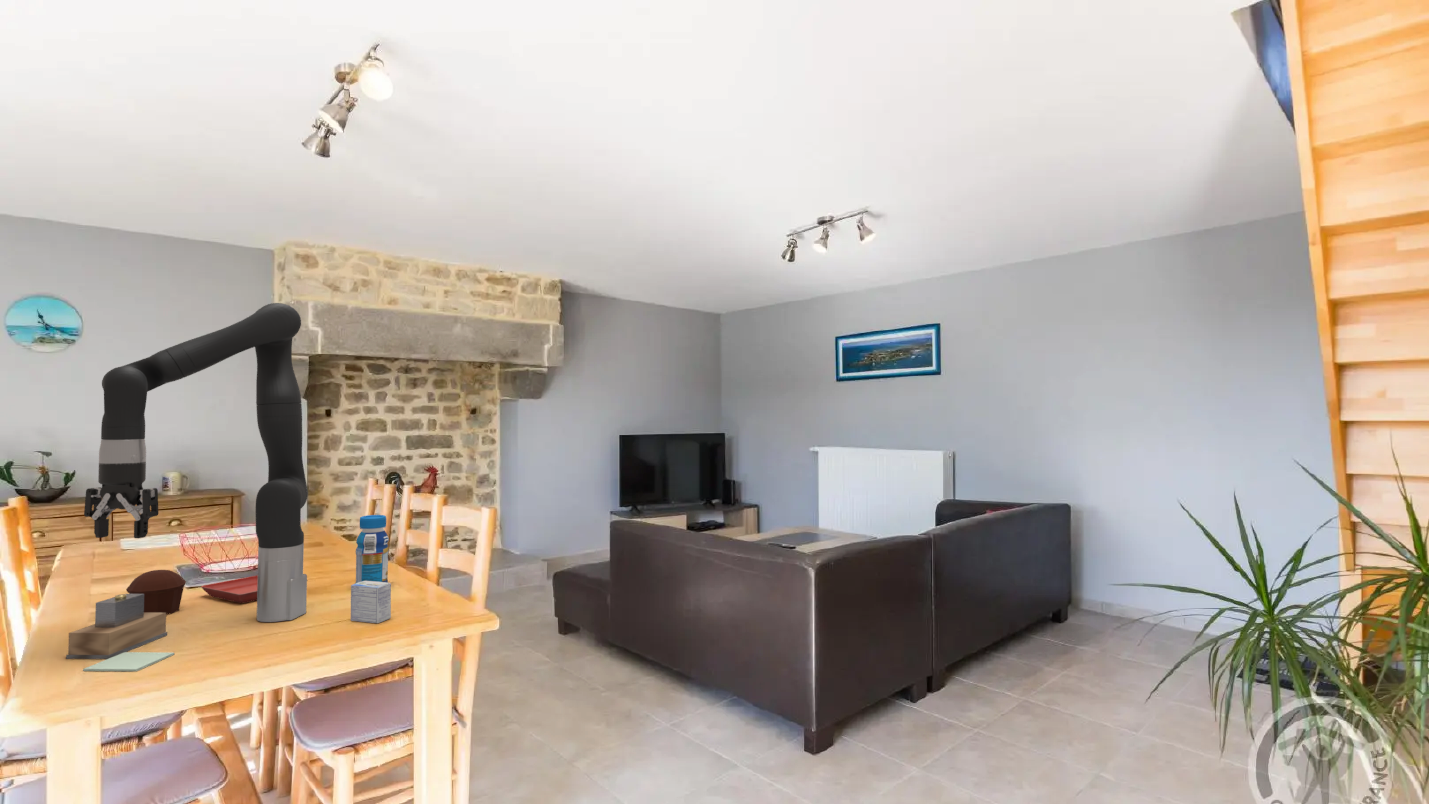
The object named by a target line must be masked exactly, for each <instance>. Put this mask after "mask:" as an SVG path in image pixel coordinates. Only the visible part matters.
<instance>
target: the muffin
mask: <svg viewBox="0 0 1429 804" xmlns="http://www.w3.org/2000/svg"><path fill="white" fill-rule="evenodd" d="M186 583H187V581H186V580H185V579H184V578H183V577H182V576H181V575H180V573H177V572H174V571H172V570H170V569H155V570H150V571H147V572H143V573H141V574H140V575H138V576H136V577H135V578H134V579H133V580H132V581H131V582H130V584H128V585H129V586H127V588H125V589H126V592H127V594H144V612H155V613H166V616H167V615H172V614H174V613H176V612H178V611H180V606H181V603H182V598H183V592H184V587H185V585H186Z"/></svg>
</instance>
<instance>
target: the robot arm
mask: <svg viewBox="0 0 1429 804" xmlns="http://www.w3.org/2000/svg"><path fill="white" fill-rule="evenodd" d="M301 327H302V319H301V315H300V314H299V312H298V311H297V309H295V308H294V307H292V306H290V305H289V304H286V303H281V302H272V303H268V304H265V305H263V306H262V307H260V308H258V309H257V310H256V311H255V312H254V313H253V314H251V315H249V316H248V317H247V316H246V318H243V319H242V320H240V321H238V322H234V323H233V324H231V325H228V326H225V327H224V328H222V329H219V330H215V331H212V332H210V333H206V334H204V335H201V336H198V337H195V338H191V339H188V340H186V341H183V342H180V343H177V344H175V345H173V346H170V347H167V348H164V349H162V350H160V351H157V352H155V353H153V354H151V356H148V357H145V358H142V359H140V360H136V361H133V362H130V363H128V364H125V365H122V366H118V367H115V368H111V369H110V370H109V371H107V372H106V373H105V375H103V378H102V380H101V387H102V390H103V415H102V420H101V427H100V428H101V430H100V431H101V432H100V433H101V434H100V446H99V450H98V481H97V482H98V484H100V485H101V487H99V486H97V487H91V488H90V487H89V488H86V490H85V500H84V509H83V510H84V511H83V514H84V515H83V516H84V517H86V518H88V517H89V518H92V520H93V522H94V523H93V524H94V525H93V526H94V527H93V529H94V530H93V534H94V536H95V538H99V539H101V538H107V537H108V536H109V528H110V526H109V525H110V523H109V522H110V519H109V518H108V517H109V516H110V515H111V513H113V511H115V510H118V509H119V510H126V512H127V513H129V514H131V516H132V517H133V519H134V521H133V522H134V523H133V538H134V539H143V538H146V537H147V535H148V533H149V519H151V518H153V517H157V516H158V515H159V492H158V488H157V487H151V488H144V487H143V483H144V482H145V481H146V477H147V476H146V472H147V445H146V440H145V439H146V418H145V417H146V416H145V411H146V405H147V399H148V393H149V392H151V391H153V390H154V389H157V388H159V387H162V386H163V385H165V384H169V383H172V382H176V381H179V380H182V379H185V378H187V377H189V376H191V375H194V374H196V373H199V372H201V371H204V370H205V369H206V370H207V369H208V368H211V367H212V366H214V365H216V364H218V363H221V362H222V361H225V360H226V359H229V358H231V357H233V356H235V355H237V354H240V353H242V352H244V351H247V350H250V349H252V348H254V350H255V355H256V357H255V358H256V370H257V371H256V379H255V380H256V390H255V392H256V393H255V394H256V396H255V399H256V402H255V403H256V404H255V405H256V407H255V408H256V420H257V421H256V422H257V428H258V431H259V434H260V438H261V440H262V443H263V446H264V449H265V452H266V456H267V461H268V463H267V464H268V470H267V471H268V472H267V473H268V474H267V475H268V477H267V482H266V483H264V484H263V485H262V486H261V487H260V488H259V490H258V492H257V494H256V498H255V534H256V538H257V543H258V545H257V546H258V548H257V549H258V550H257V552H258V553H257V575H258V580H257V600H256V621H258V622H262V623H275V622H283V621H292V620H294V619H296V618H299V617H300V616H303V615H304V614H307V598H308V597H307V593H308V592H307V591H308V588H307V587H308V583H307V582H308V581H307V580H308V574H306V573H304V549H305V548H304V547H305V546H304V545H305V543H304V542H305V533H304V531H303V530H302V525H301V523H302V522H301V515H302V514H301V512H302V511H301V509H303V507H304V506H305V504H306V503H307V500H308V496H309V492H308V485H307V480H306V474H305V469H304V461H303V408H302V407H303V406H302V396H301V390H300V387H299V382H298V380H297V377H296V373H295V371H294V367H293V360H292V358H293V357H292V355H293V354H292V353H293V352H292V351H293V349H292V348H293V346H292V345H293V338H294V337H296V335H297V334H298V333H299V331H300V329H301Z"/></svg>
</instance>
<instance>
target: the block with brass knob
mask: <svg viewBox="0 0 1429 804" xmlns="http://www.w3.org/2000/svg"><path fill="white" fill-rule="evenodd" d="M143 617H144V594H129V593H122V594H115V595H114V597H109V598H107V599H104V600H101V601H98V602H95V614H94V619H95V620H94V624H95V627H101V628H115V627H118V626H121V625H123V624H126V623H129V622H132V621H135V620H138V619H140V618H143Z"/></svg>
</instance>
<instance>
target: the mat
mask: <svg viewBox="0 0 1429 804" xmlns="http://www.w3.org/2000/svg"><path fill="white" fill-rule="evenodd" d="M174 655H175V652H168V651H167V652H160V651H158V652H155V651H154V652H153V651H152V652H151V651H150V652H149V651H146V652H145V651H144V652H143V651H141V652H140V651H138V652H137V651H136V652H135V651H134V652H133V651H127V652H124V653H121V654H119V655H116V656H114V657H111V658H109V659H103V660H101V661H99V662H97V663H95V664H92V665H90V666H86V667H84V668H83V669H82V671H83V672H138V671H141V670H143V669H145V668H147V667H149V666H152V665H154V664H157V663H159V662H161V661H164V660H165V659H168V658H170V657H172V656H174Z"/></svg>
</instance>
